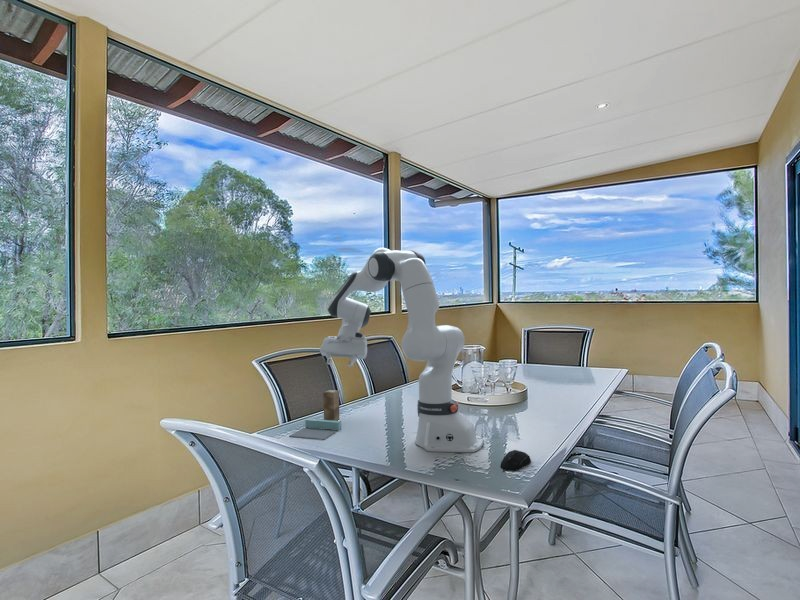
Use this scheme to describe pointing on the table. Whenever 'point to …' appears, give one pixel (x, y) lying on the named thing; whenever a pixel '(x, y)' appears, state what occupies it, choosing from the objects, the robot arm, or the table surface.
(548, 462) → the table surface
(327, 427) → the teal rail
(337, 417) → the walnut block
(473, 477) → the table surface
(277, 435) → the table surface
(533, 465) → the table surface
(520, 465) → the gaming mouse
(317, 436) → the rubber mat
